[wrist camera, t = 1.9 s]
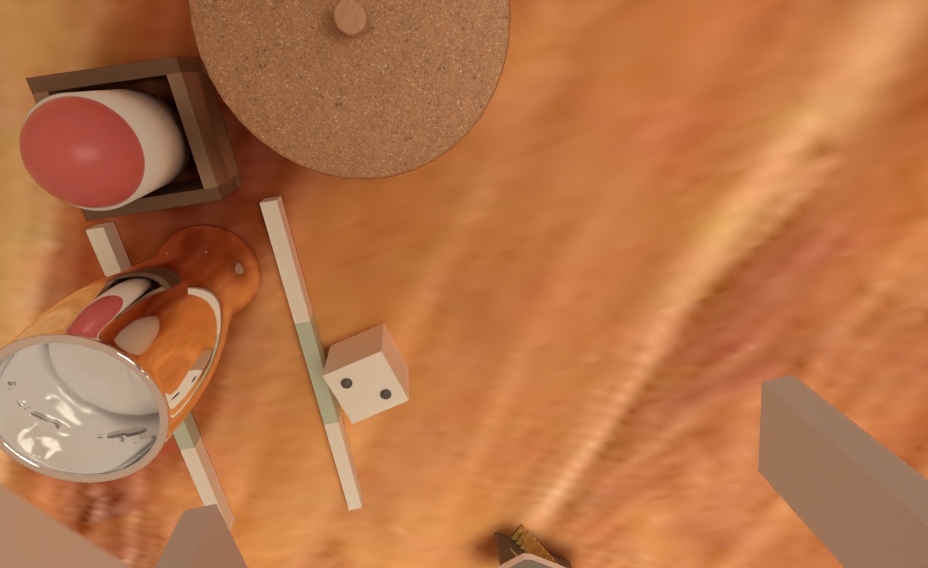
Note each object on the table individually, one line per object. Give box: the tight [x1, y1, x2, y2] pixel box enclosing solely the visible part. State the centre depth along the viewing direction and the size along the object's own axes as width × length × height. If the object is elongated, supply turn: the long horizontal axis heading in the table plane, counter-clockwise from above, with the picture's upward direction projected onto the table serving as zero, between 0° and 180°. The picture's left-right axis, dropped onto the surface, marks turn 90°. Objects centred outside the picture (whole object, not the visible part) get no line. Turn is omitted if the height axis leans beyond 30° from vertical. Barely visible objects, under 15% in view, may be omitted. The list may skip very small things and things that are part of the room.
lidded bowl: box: [188, 0, 511, 179], centre depth 24 cm, size 13×13×11 cm
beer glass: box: [0, 225, 260, 483], centre depth 26 cm, size 7×7×15 cm
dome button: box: [20, 88, 191, 211], centre depth 24 cm, size 5×5×7 cm
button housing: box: [26, 57, 243, 221], centre depth 28 cm, size 7×7×4 cm
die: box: [322, 323, 409, 424], centre depth 35 cm, size 4×4×4 cm
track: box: [86, 196, 363, 531], centre depth 36 cm, size 24×11×1 cm, turn 8°
